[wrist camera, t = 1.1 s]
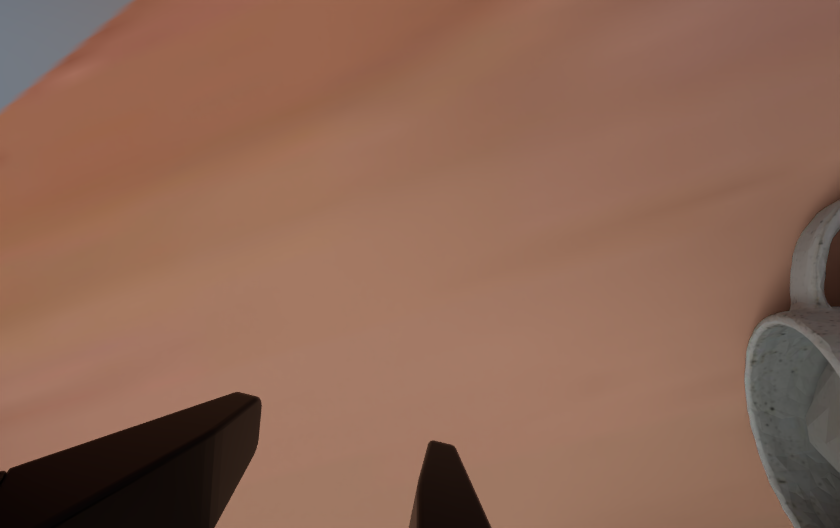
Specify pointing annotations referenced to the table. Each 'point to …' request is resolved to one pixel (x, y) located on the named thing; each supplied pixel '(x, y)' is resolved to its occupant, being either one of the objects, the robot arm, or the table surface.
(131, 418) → the table surface
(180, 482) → the robot arm
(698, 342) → the table surface
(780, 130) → the table surface
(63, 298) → the table surface
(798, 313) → the ceramic mug
